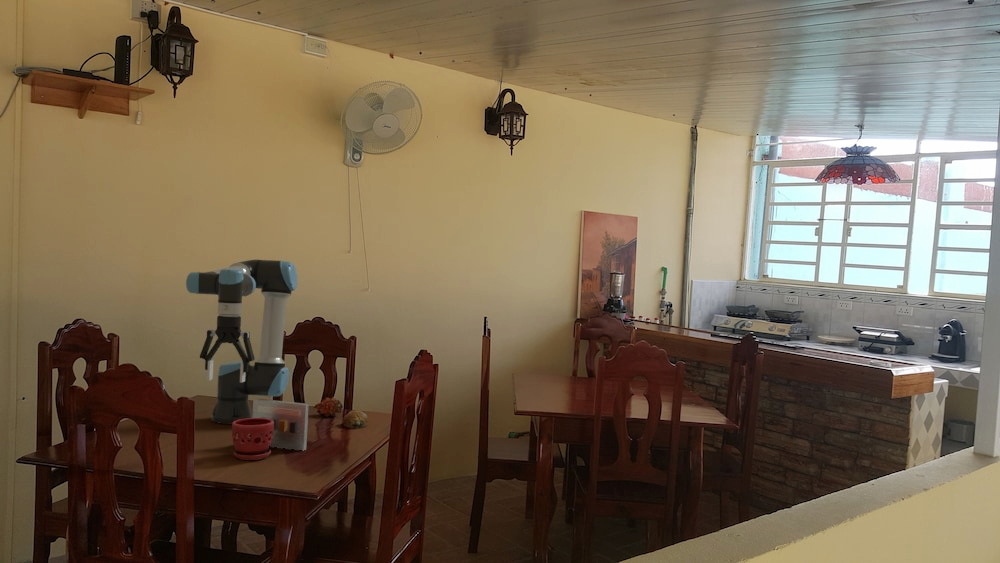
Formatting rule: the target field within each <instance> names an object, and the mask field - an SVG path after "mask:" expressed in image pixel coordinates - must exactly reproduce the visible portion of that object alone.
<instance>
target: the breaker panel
mask: <svg viewBox="0 0 1000 563" xmlns="http://www.w3.org/2000/svg"><path fill="white" fill-rule="evenodd" d="M252 402H253V403H252V404H253V405H252V418H265V419H271V420H273V421H274V431H273V438H272V442H271V444H270V447H269V448H274V447H277V448H276V449H283V448H285V450H291V449H294V450H293V451H299V450H302V451H301V452H305V451H306V450H307V443H308V440H307V439H308V422H309V421H308V420H309V403H303V402H294V401H285V400H274V399H264V398H258V397H257V398H254V399H253V400H252ZM262 435H263V433H262ZM304 450H305V451H304Z"/></svg>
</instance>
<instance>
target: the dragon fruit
mask: <svg viewBox="0 0 1000 563" xmlns="http://www.w3.org/2000/svg"><path fill="white" fill-rule="evenodd" d="M343 407H344V406H343V404H342V402H341V401H340V400H339V399H336V398H335V397H334V396H333V397H331V398H330V397H325V398H324V399H322V400H321V401H320V402H317V404H315V405H314V406H313V409H316V413H318V414H319V415H321V416H325V417H327V418H328V417H330V416H331V417H335V416H336V414H341V413H343V412H342V409H343Z"/></svg>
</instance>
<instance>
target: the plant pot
mask: <svg viewBox="0 0 1000 563" xmlns="http://www.w3.org/2000/svg"><path fill="white" fill-rule="evenodd" d="M273 431H274V421H273V420H271V419H265V418H247V419H240V420H236V421H234V422H233V423H232V424H231V435H232V436H231V437H232V443H233V447H234V448H235V450H234V451H233V454H234V456H235V457H236V458H237V459H238V458H239V460H243V461H257V460H258V461H259V460H264V459H265V458H267V457H268V456H270V455H271V453H272V451H271V449H270V447H269V446H270V444H271V442H272V438H273ZM262 433H263V435H262Z"/></svg>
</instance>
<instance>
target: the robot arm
mask: <svg viewBox="0 0 1000 563" xmlns="http://www.w3.org/2000/svg"><path fill="white" fill-rule="evenodd" d="M185 285H186V286H185V287H186V290H187V291H188V292H189V293H190V294H195V295H196V294H197V295H217V296H218V297H217V314H218V315H217V317H216V329H207V330H206V338H205V341H204V344H203V346H202V349H201V352H200V354H199V358H200V359H202V360H204V369H205V371H206V373H207V374H206V375H207V376H206V381H212V380H213V379H214V359H212V358H213V357H214V355H215V354H216V352H217V351H218V349H219V348H220V347H221V345H222V344H227V343H228V344H232V345H233V346H234V348H235V350H236V352H237V353H238V355H239V357H240V358H241V360H239V361H238V360H237V361H233V362H232V361H231V362H226V363H223V364H220V366H219V367H218V373H217V374H218V375H217V394H216V395H217V396H216V403H215V405H214V408H213V409H212V410H213V411H212V412H211V413H212V414H211V417H210V418H211V420H212V421H214V422H213V423H215V422H220V423H233V422H234V421H236V420H240V419H247V418H252V417H253V412H252V408H251V406H250V403H249V396H259V397H260V396H261V397H268V398H271V397H280V396H282V395H283V394H284V392H286V389H287V387H288V383H289V379H290V369H289V368H288V367H286V362H285V361H284V359H283V358H282V357H283V348H284V347H283V346H284V336H285V335H284V334H285V324H286V311H287V299H289V298H290V297H291V296H292V292H293V291H295V290H297V286H298V274H297V269H296V266H295V264H293V262H291V261H284V260H273V259H272V260H270V259H269V260H267V259H247V260H244V261H240V262H235V263H234V262H233V263H232V264H230V265H229V266H227V267H223V268H219V269H216V270H211V271H206V272H203V271H202V272H200V271H195V272H194V271H192V272H189V273H188V275H187V277H186V280H185ZM256 289H261V291H260V293H261V295H262V296H263V297H264V300H263V301H264V303H263V312H262V321H261V322H262V324H261V334H260V342H259V343H260V345H259V356H258V358H257V359H256V358H255V354H254V351H253V346H252V343H251V339H250V336H251V332H249V331H242V329H241V325H242V317H241V315H242V310H243V309H242V306H243V305H242V304H243V297H247V296H250V295H251V294H253V293H255V290H256ZM215 335H216V337H217V339H216V340H215V341H214V342H215V343H214V344H213V346H212V347H211V344H212V342H213V339H214V337H215ZM240 337H241V338H242V339H243V344H244V347H243V345H242V342H241V341H240V339H239V338H240ZM210 347H211V348H210ZM244 348H245V349H244ZM209 349H210V350H209ZM253 361H254V364H253V365H251V362H253ZM212 421H211V422H212Z"/></svg>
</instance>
